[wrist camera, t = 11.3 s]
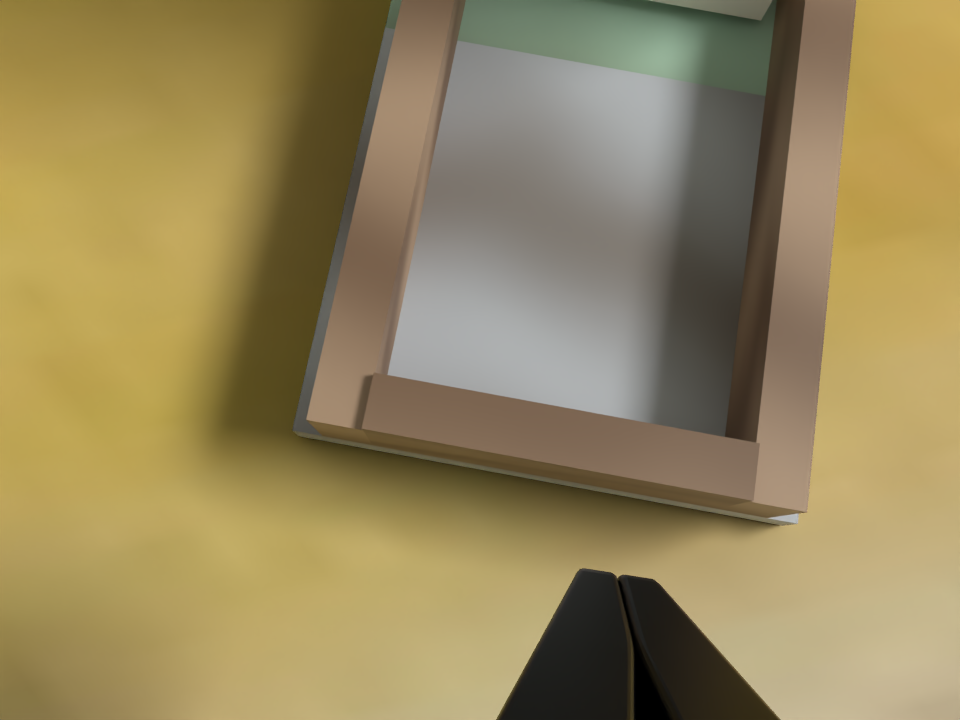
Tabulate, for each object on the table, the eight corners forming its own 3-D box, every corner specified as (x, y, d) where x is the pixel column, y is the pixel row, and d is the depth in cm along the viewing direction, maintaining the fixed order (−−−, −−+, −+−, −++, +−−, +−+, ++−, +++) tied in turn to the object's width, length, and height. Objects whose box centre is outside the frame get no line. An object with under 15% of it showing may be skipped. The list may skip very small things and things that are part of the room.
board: (782, 525, 18) (846, 517, 15) (299, 436, 18) (269, 411, 15) (856, -200, 22) (917, -315, 19) (460, -269, 22) (462, -396, 19)
